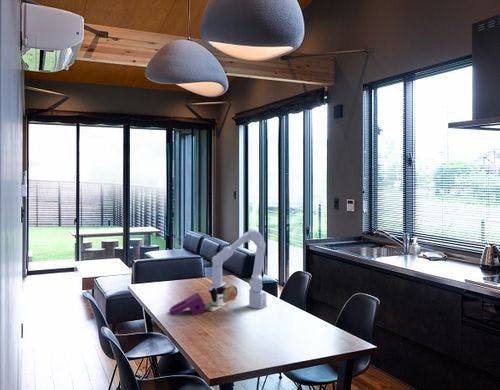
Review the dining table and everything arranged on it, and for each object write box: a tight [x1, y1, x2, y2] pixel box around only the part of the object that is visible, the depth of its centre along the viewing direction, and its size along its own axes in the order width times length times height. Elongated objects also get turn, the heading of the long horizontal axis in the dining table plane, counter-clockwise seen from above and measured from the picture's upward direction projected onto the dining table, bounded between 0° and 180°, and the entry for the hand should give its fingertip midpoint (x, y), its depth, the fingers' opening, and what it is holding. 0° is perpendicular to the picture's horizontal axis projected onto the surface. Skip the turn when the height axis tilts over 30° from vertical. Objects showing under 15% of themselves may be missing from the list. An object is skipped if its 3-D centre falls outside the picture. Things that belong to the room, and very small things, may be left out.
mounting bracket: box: [168, 292, 205, 315], centre depth 252 cm, size 9×8×18 cm
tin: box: [223, 285, 238, 303], centre depth 279 cm, size 15×3×8 cm, turn 143°
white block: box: [210, 294, 223, 306], centre depth 262 cm, size 6×4×6 cm
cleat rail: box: [203, 300, 229, 312], centre depth 262 cm, size 6×14×3 cm, turn 147°
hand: (217, 300), depth 262 cm, fingers closed on white block, 4 cm apart
